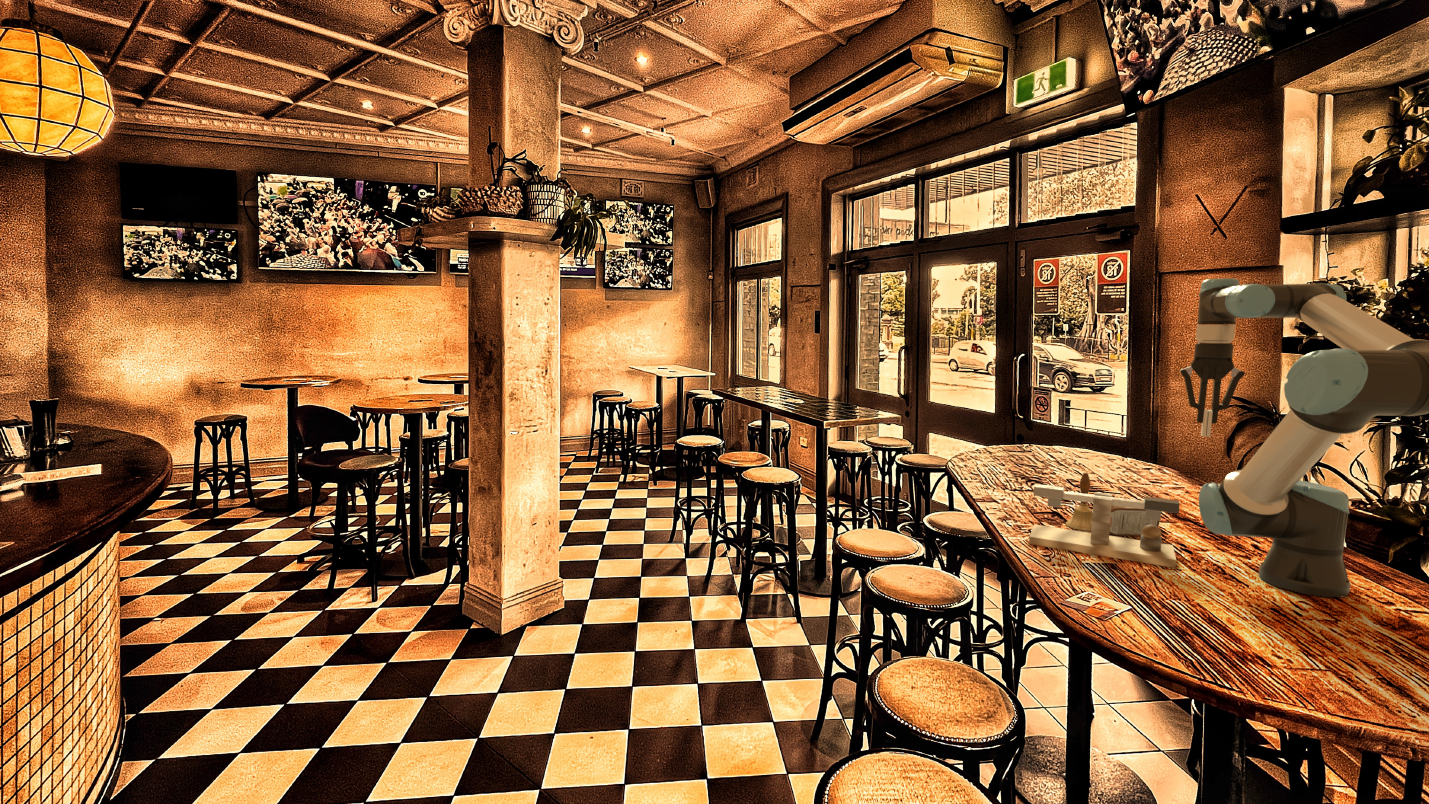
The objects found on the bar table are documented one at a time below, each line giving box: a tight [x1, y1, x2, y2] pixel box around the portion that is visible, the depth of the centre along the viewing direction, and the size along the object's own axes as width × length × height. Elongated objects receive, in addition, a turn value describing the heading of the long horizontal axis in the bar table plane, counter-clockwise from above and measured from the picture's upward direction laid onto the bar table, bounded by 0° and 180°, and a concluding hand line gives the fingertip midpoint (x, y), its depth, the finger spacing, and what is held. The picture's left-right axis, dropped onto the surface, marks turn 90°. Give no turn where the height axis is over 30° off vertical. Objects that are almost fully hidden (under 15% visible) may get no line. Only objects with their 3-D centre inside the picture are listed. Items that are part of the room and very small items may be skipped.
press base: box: [1028, 492, 1177, 569], centre depth 166 cm, size 32×12×14 cm, turn 58°
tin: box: [1109, 505, 1161, 537], centre depth 177 cm, size 15×3×8 cm, turn 84°
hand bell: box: [1065, 472, 1093, 532], centre depth 184 cm, size 8×8×16 cm
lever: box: [1033, 483, 1180, 522], centre depth 166 cm, size 32×4×5 cm, turn 58°
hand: (1205, 435), depth 161 cm, fingers closed
